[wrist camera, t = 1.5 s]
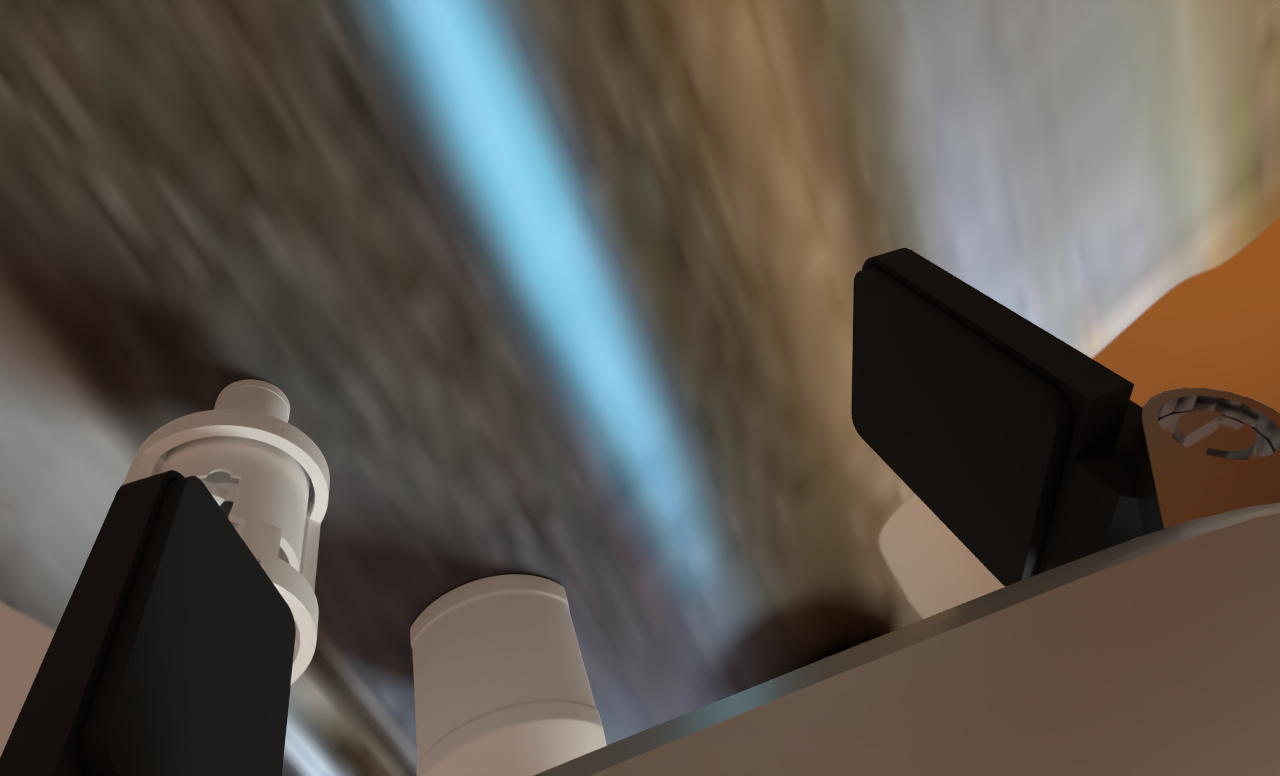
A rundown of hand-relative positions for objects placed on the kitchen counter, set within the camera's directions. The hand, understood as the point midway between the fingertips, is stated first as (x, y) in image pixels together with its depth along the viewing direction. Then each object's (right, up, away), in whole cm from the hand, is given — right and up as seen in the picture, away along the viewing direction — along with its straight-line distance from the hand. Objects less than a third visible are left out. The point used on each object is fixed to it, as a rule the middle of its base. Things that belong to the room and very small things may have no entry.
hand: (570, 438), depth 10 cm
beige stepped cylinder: (-17, 0, +23) cm, 29 cm away
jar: (-8, -15, +37) cm, 41 cm away
